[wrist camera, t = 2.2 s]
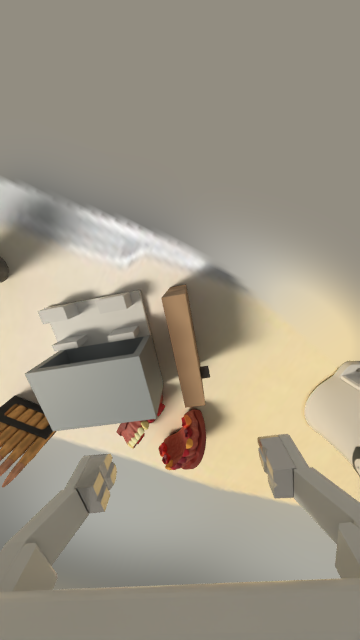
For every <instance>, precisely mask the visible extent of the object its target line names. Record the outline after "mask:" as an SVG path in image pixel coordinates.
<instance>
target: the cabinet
mask: <svg viewBox="0 0 360 640" xmlns="http://www.w3.org/2000/svg"><path fill="white" fill-rule="evenodd" d="M37 312H38V314H39V316H40V319H41V321H42V323H43V324H47V323H50V325H51V327H52V330H53V332H54V335H55V337H56V339H57V343H55V344H54V345H52V347H53V349H54V351H59V352H57V353H56V354H54V355H53V356H51V357H50V358H48V359H47V360H45V361H44V362H42V363H41V364H39V365H37V366H36V367H34V368H33V369H31V370H30V371H28V372H27V373H25V376H26V378H27V380H28V382H29V384H30V386H31V388H32V390H33V392H34V394H35V396H36V398H37V400H38V402H39V404H40V406H41V408H42V410H43V412H44V414H45V416H46V418H47V420H48V422H49V424H50V426H51V428H52V430H53V431H60V430H68V429H76V428H84V427H93V426H101V425H109V424H117V423H125V422H134V421H142V420H150V419H156V418H157V413H158V409H159V404H160V399H161V394H162V389H163V384H164V383H163V379H162V375H161V371H160V367H159V363H158V359H157V355H156V351H155V347H154V343H153V339H152V335H151V331H150V327H149V323H148V319H147V315H146V311H145V307H144V303H143V299H142V295H141V291H140V290H136V291H131V292H126V293H121V294H115V295H110V296H105V297H100V298H94V299H89V300H84V301H78V302H73V303H68V304H63V305H57V306H52V307H47V308H44V309H43V310H40V311H37Z"/></svg>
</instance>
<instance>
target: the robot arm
mask: <svg viewBox="0 0 360 640" xmlns="http://www.w3.org/2000/svg"><path fill="white" fill-rule="evenodd" d="M305 419H306V421H307V423H308V425H309V426H310V427H311V428H312V429H313V430H314V431H315V432H317V433H318V434H319V435H321V436H322V437H323V438H324V439H326V440H327V441H328V442H329V443H330V444H331V445H332V446H333V447H334V448H335V449H336V450H337V451H338V452H339V453H340V454H341V455H342V456H343V457H344V458H345V459H346V460H347V461H348V462H349V463H350V464H351V465H352V466H353V467H354V469H355V470H356V472H357V473H358V475H359V476H360V361H347V362H345V363H343V364H342V365H341V366H340V367H339V368H338V370H337V371H336V372H335V374H334V375H333V376H332V377H330V378H329V379H327V380H326V381H324V382H323V383H322V384H320V385H319V386H318V387H317V388H316V389H315V390H314V391H313V392H312V393H311V395H310V396H309V398H308V400H307V402H306V405H305ZM258 444H259V447H260V448H259V456H260V460H261V463H262V466H263V469H264V471H265V472H266V473H267V474H268V482H269V485H270V488H271V490H272V493H273V495H274V498H293V497H294V499H295V500H296V501H297V502H298V503H299V504H300V506H301V507H302V508H303V509H304V510H305V511H306V512H307V513H308V514H309V515H310V516H311V517H312V518H313V519H314V520H315V522H316V523H318V525H319V526H320V527H321V528H322V529H323V530H324V531H325V532H326V533H327V534H328V535H329V537H330V538H331V539H332V540H333V541H334V542H335V543H336V544H337V551H336V561H335V567H336V569H337V571H338V573H339V575H340V577H341V579H320V580H319V579H318V580H293V581H269V582H268V581H265V582H239V583H213V584H189V585H188V584H187V585H163V586H136V587H110V588H85V589H61V590H60V589H59V590H53V588H54V585H55V583H56V580H57V573H56V572H55V571H54V569H53V568H52V564H53V563H54V562H55V560H56V559H57V558H58V556H59V555H60V553H61V552H62V551H63V549H64V548H65V547H66V545H67V544H68V542H69V541H70V540H71V538H72V537H73V536H74V534H75V533H76V532H77V530H78V529H79V528H80V526H81V525H82V523H83V522H84V521H85V519H86V518H87V516H88V515H89V513H97V512H105V509H106V506H107V503H108V500H109V497H110V492H109V490H110V489H111V488H112V486H113V485H114V483H115V479H116V473H117V471H116V465H115V464H114V463H113V462H112V456H111V454H101V455H89V456H84V457H83V458H82V459H81V460H80V462H79V464H78V465H77V467H76V469H75V471H74V472H73V474H72V476H71V478H70V480H69V481H68V483H67V485H66V487H65V489H64V490H62V491H60V492H59V493H58V494H57V495H56V496H55V497H54V498H53V499H52V500H51V501H50V502H49V503H48V504H47V505H45V506H44V507H43V508H42V509H41V510H40V511H39V512H38V513H37V514H36V515H35V516H34V517H33V518H32V519H31V520H30V521H29V522H28V523H27V524H26V525H25V526H24V527H22V528H21V530H19V531H18V532H17V533H16V534H15V535H14V536H13V537H12V538H11V539H10V540H9V541H8V542H7V543H6V544H5V546H4V547H3V549H2V550H1V552H0V640H360V503H359V502H358V501H357V500H355V499H354V498H353V497H351V496H350V495H349V494H347V493H346V492H345V491H343V490H342V489H341V488H339V487H338V486H337V485H335V484H334V483H333V482H331V481H330V480H329V479H327V478H326V477H325V476H323V475H322V474H321V473H319V472H318V471H317V470H315V469H314V468H313V467H312V468H309V466H308V465H307V463H306V461H305V460H304V458H303V457H302V455H301V453H300V452H299V450H298V448H297V447H296V445H295V443H294V442H293V440H292V439H291V437H290V436H289V435H288V434H282V435H271V436H263V437H258Z"/></svg>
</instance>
